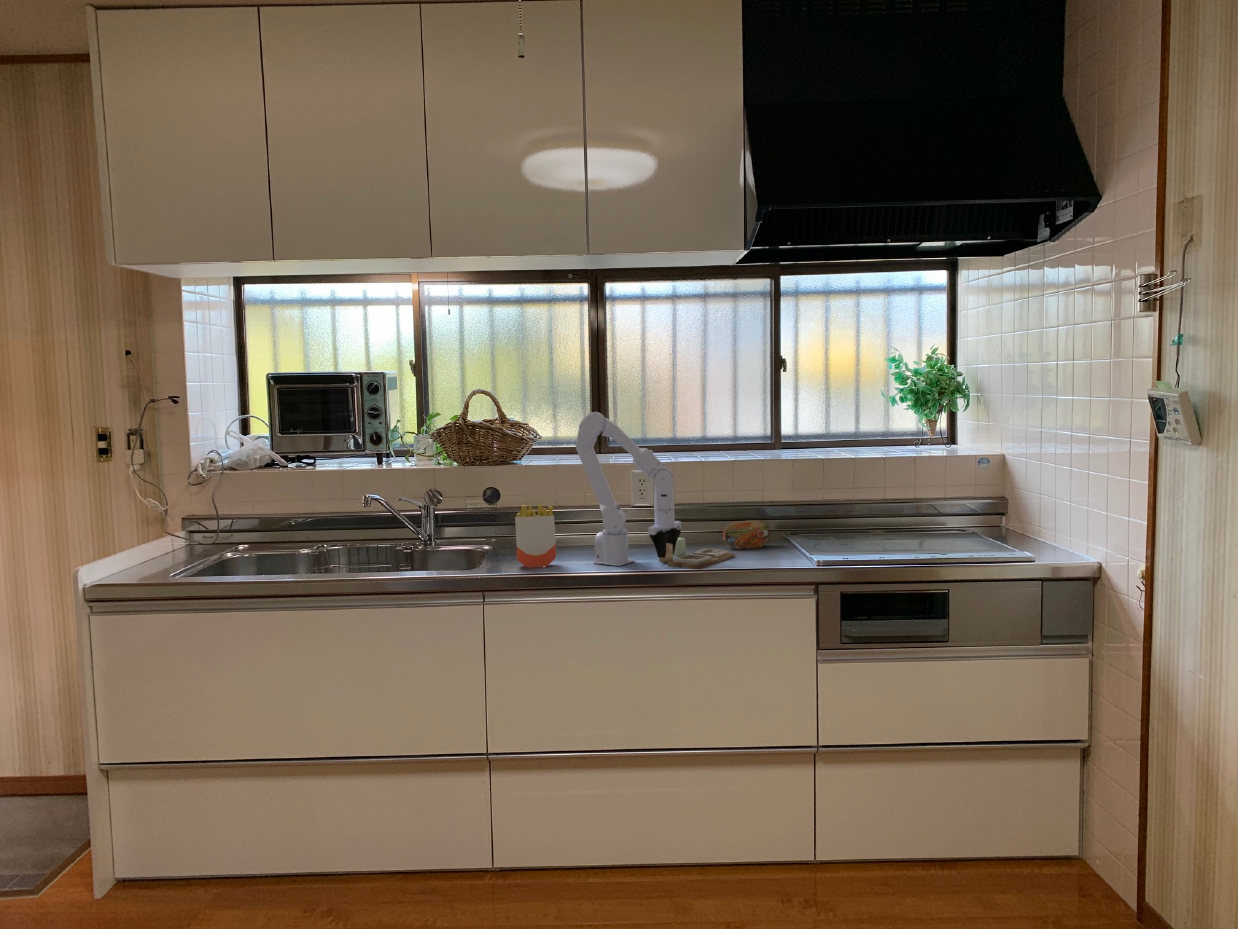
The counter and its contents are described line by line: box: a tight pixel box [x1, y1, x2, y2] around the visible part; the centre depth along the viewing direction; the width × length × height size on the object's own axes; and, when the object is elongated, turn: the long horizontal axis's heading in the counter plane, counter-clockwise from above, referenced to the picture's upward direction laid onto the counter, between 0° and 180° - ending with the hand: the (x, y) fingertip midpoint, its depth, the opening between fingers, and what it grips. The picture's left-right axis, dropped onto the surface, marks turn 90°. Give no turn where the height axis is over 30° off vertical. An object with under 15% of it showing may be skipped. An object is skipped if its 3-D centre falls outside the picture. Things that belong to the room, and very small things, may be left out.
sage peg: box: [673, 537, 687, 558], centre depth 249 cm, size 4×4×5 cm
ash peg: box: [658, 543, 674, 564], centre depth 240 cm, size 4×4×5 cm
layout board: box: [667, 548, 735, 570], centre depth 239 cm, size 10×20×2 cm, turn 143°
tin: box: [722, 519, 771, 550], centre depth 258 cm, size 15×3×8 cm, turn 105°
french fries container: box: [514, 504, 557, 568], centre depth 240 cm, size 5×11×18 cm, turn 90°
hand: (665, 556), depth 240 cm, fingers closed on ash peg, 4 cm apart
